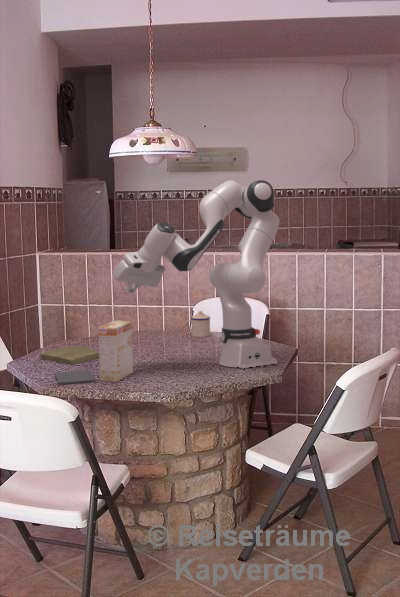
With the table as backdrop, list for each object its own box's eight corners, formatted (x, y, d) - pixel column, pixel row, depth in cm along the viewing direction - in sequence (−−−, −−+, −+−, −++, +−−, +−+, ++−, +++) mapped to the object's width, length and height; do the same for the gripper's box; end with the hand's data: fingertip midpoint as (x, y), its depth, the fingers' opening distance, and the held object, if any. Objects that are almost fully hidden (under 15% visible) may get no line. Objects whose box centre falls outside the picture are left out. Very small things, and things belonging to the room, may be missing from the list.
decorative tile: (72, 366, 289) (71, 357, 288) (39, 360, 302) (39, 351, 301) (107, 358, 303) (106, 349, 303) (74, 352, 316) (74, 344, 315)
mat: (90, 372, 276) (90, 370, 276) (95, 382, 261) (95, 379, 261) (54, 374, 273) (54, 372, 273) (58, 385, 258) (58, 382, 258)
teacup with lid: (212, 334, 350) (212, 310, 349) (207, 338, 342) (206, 313, 340) (188, 333, 354) (188, 309, 352) (182, 336, 345) (182, 312, 344)
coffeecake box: (116, 371, 277) (114, 320, 275) (134, 372, 275) (132, 320, 272) (99, 380, 263) (97, 326, 260) (117, 382, 261) (115, 327, 258)
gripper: (162, 261, 284) (146, 290, 289) (121, 252, 270) (104, 283, 275) (170, 271, 280) (153, 300, 285) (129, 262, 266) (111, 293, 271)
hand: (129, 291), depth 280 cm, fingers closed
